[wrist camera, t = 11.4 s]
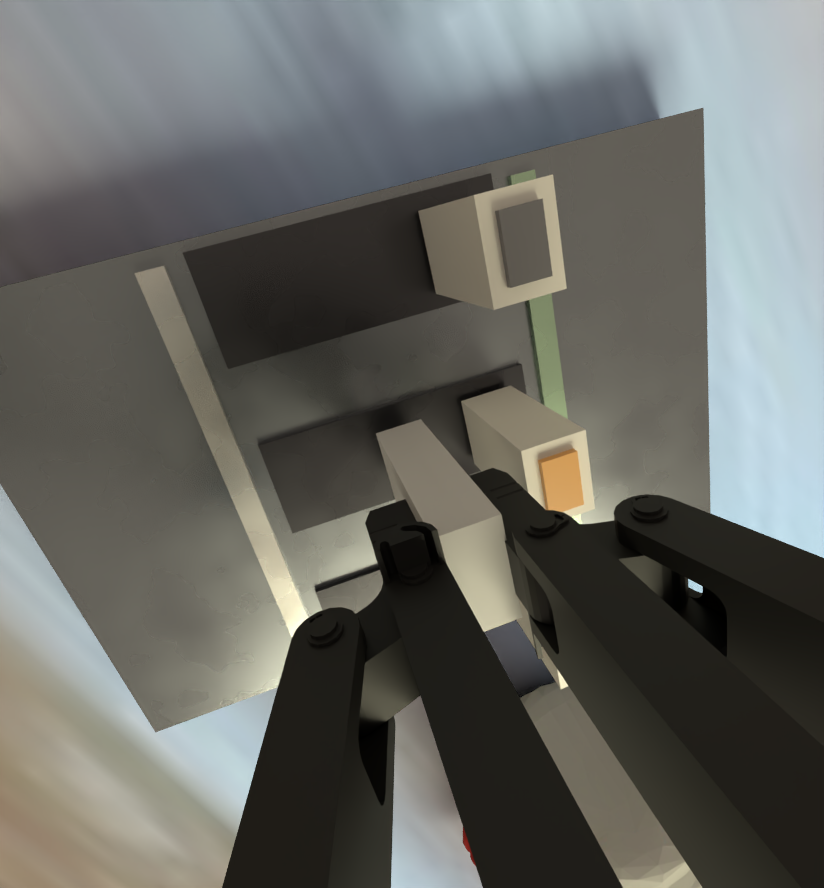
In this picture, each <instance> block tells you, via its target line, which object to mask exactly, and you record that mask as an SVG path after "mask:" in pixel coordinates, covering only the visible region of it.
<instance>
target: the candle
mask: <svg viewBox="0 0 824 888" xmlns="http://www.w3.org/2000/svg"><path fill="white" fill-rule="evenodd" d="M520 699H521V701H522V703H523V705H524V707H525V709H526V710H527V712H528V714H529V716H530V718H531V720H532V721H533V723H534V725H535V727H536V729H537V731H538V732H539V734H540V736H541V738H542V740H543V742H544V743H545V745H546V747H547V749H548V751H549V753H550V755H551V756H552V758H553V760H554V762H555V764H556V766H557V767H558V769H559V771H560V773H561V775H562V777H563V778H564V780H565V782H566V784H567V786H568V788H569V789H570V791H571V793H572V795H573V797H574V799H575V800H576V802H577V804H578V806H579V808H580V810H581V811H582V813H583V815H584V817H585V819H586V821H587V822H588V824H589V826H590V828H591V830H592V832H593V833H594V835H595V837H596V839H597V841H598V843H599V845H600V846H601V848H602V850H603V852H604V854H605V856H606V857H607V859H608V861H609V863H610V865H611V867H612V868H613V870H614V872H615V874H616V876H617V878H618V879H619V881H620V883H621V885H622V887H623V888H702V886H701V885H700V883H699V882H698V880H697V879H696V877H695V876H694V874H693V873H692V871H691V870H690V868H689V867H688V865H687V864H686V862H685V861H684V859H683V857H682V856H681V854H680V853H679V851H678V850H677V848H676V847H675V845H674V844H673V842H672V841H671V839H670V838H669V836H668V835H667V833H666V832H665V830H664V829H663V827H662V826H661V824H660V823H659V821H658V820H657V818H656V817H655V815H654V814H653V812H652V811H651V809H650V808H649V806H648V805H647V803H646V802H645V800H644V799H643V797H642V796H641V794H640V793H639V791H638V790H637V788H636V787H635V785H634V784H633V782H632V781H631V779H630V778H629V776H628V775H627V773H626V772H625V770H624V769H623V767H622V766H621V764H620V763H619V761H618V760H617V758H616V757H615V755H614V754H613V752H612V751H611V749H610V748H609V746H608V745H607V743H606V742H605V740H604V739H603V737H602V736H601V734H600V733H599V731H598V730H597V728H596V727H595V725H594V724H593V722H592V721H591V719H590V718H589V716H588V715H587V713H586V712H585V710H584V709H583V707H582V706H581V704H580V703H579V701H578V700H577V698H576V697H575V695H574V694H573V692H572V691H571V689H570V688H569V686H568V687H565V688H563V689H560V687H559V686H558V684H557V683H556V681H555V682H553V683H551V684H548V685H544V686H540V687H539V688H537V689H536V690H534V691H533V692H531V693H528V694H526V695H524V696H522V697H521V698H520ZM463 844H464V846H465V847H466V849H467V850H468V851H469V852H470V857H471V860H472V862H473V863H474V864H475V861H474V858H473V855H472V852H471V849H470V846H469V843H468V840H467V837H466V833H465V830H464V827H463ZM475 866H476V864H475Z"/></svg>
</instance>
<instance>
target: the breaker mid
mask: <svg viewBox="0 0 824 888" xmlns="http://www.w3.org/2000/svg"><path fill="white" fill-rule="evenodd" d="M461 403H462V408H463V413H464V417H465V422H466V427H467V431H468V436H469V441H470V445H471V450H472V454H473V459H474V464H475V465H476V466H477V467H478V468H479V469H480V470H481V472H482V471H485V470H488V469H491V468H495V469H498V470H501V471H504V472H507V473H508V474H509V475H510V476H511V477H512V478H513V479H514V480H515V481H516V482H517V483H519V484H520V485H521V486H522V487H523V489H524V490H526V491H527V492H528V493H529V494H530V495H531V496H532V497H533V498H534V499H535V500H536V501H537V502H538V503H539V504H540V505H541V506H542V507H543V508H544V509H545V510H555V511H559V512H564V513H566V514H567V515H569V516H571V517H573V516H576V515H579V514H582V513H585V512H588V511H590V510H593V509H595V504H594V496H593V487H592V479H591V470H590V462H589V454H588V445H587V437H586V430H585V429H584V428H582V427H580V426H579V425H577V424H575V423H573V422H572V421H570V420H568V419H567V418H565V417H563V416H562V415H560V414H558V413H556V412H555V411H553V410H551V409H550V408H548V407H546V406H544V405H543V404H541V403H539V402H538V401H536V400H534V399H533V398H531V397H529V396H527V395H526V394H524V393H522V392H521V391H519V390H517V389H516V388H514V387H512V386H508V387H504V388H501V389H498V390H495V391H492V392H488V393H485V394H482V395H479V396H476V397H472V398H469V399H466V400H463V401H461Z"/></svg>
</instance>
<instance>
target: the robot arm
mask: <svg viewBox="0 0 824 888" xmlns="http://www.w3.org/2000/svg"><path fill="white" fill-rule="evenodd" d="M376 436H377V439H378V442H379V446H380V449H381V453H382V456H383V459H384V463H385V466H386V470H387V473H388V476H389V480H390V483H391V487H392V490H393V493H394V497H395V500H396V502H395V503H392V504H389V505H386V506H383V507H380V508H377V509H374V510H371V511H369V514H368V517H367V519H366V522H365V524H366V527H367V531H368V534H369V537H370V540H371V543H372V546H373V549H374V554H375V557H376V560H377V563H378V566H379V569H380V572H381V575H382V578H383V585H382V589H381V591H380V592H379V594H378V596H377V597H376V598H375V599H374V600H373V601H372V602H371V603H370V604H369V605H368V606H366V607H365V608H364V609H362V610H360V611H359V612H357V613H356V614H355V613H354V612H353V611H352V610H350V609H347V608H344V607H335V608H328V609H325V610H322V611H319V612H317V613H315V614H313V615H312V616H310V617H309V618H307V619H306V620H305V621H304V622H303V623H302V624H301V625H300V626H299V627H298V628H297V629H296V631H295V633H294V635H293V637H292V639H291V642H290V646H289V649H288V653H287V657H286V660H285V664H284V667H283V671H282V675H281V678H280V682H279V685H278V689H277V693H276V696H275V700H274V703H273V707H272V710H271V714H270V718H269V721H268V725H267V728H266V732H265V736H264V739H263V743H262V746H261V750H260V754H259V757H258V761H257V764H256V768H255V772H254V775H253V779H252V782H251V786H250V790H249V793H248V797H247V800H246V804H245V807H244V811H243V815H242V818H241V822H240V825H239V829H238V833H237V836H236V840H235V843H234V847H233V851H232V854H231V858H230V861H229V865H228V869H227V872H226V876H225V879H224V883H223V887H222V888H391V860H392V824H393V787H394V751H395V719H394V715H395V714H396V713H398V712H399V711H400V710H402V709H403V708H404V707H405V706H407V705H408V704H409V703H411V702H412V701H413V700H415V699H416V698H417V697H419V696H420V695H421V698H422V701H423V704H424V707H425V710H426V713H427V716H428V719H429V723H430V726H431V729H432V732H433V735H434V738H435V741H436V744H437V747H438V750H439V753H440V756H441V760H442V763H443V766H444V769H445V772H446V775H447V778H448V781H449V784H450V787H451V790H452V793H453V796H454V800H455V803H456V806H457V809H458V812H459V815H460V818H461V821H462V824H463V827H464V830H465V833H466V837H467V840H468V843H469V846H470V849H471V852H472V855H473V858H474V861H475V864H476V867H477V870H478V873H479V877H480V880H481V883H482V886H483V888H623V887H622V885H621V883H620V881H619V879H618V878H617V876H616V874H615V872H614V870H613V868H612V867H611V865H610V863H609V861H608V859H607V857H606V856H605V854H604V852H603V850H602V848H601V846H600V845H599V843H598V841H597V839H596V837H595V835H594V833H593V832H592V830H591V828H590V826H589V824H588V822H587V821H586V819H585V817H584V815H583V813H582V811H581V810H580V808H579V806H578V804H577V802H576V800H575V799H574V797H573V795H572V793H571V791H570V789H569V788H568V786H567V784H566V782H565V780H564V778H563V777H562V775H561V773H560V771H559V769H558V767H557V766H556V764H555V762H554V760H553V758H552V756H551V755H550V753H549V751H548V749H547V747H546V745H545V743H544V742H543V740H542V738H541V736H540V734H539V732H538V731H537V729H536V727H535V725H534V723H533V721H532V720H531V718H530V716H529V714H528V712H527V710H526V709H525V707H524V705H523V703H522V701H521V699H520V698H519V696H518V694H517V692H516V690H515V688H514V687H513V685H512V683H511V681H510V679H509V677H508V676H507V674H506V672H505V670H504V668H503V666H502V665H501V663H500V661H499V659H498V657H497V655H496V653H495V652H494V650H493V648H492V646H491V644H490V642H489V641H488V639H487V637H486V635H485V633H484V632H485V631H488V630H490V629H493V628H496V627H498V626H501V625H503V624H506V623H509V622H511V621H514V620H517V619H519V618H522V613H521V608H520V603H519V600H520V601H521V602H522V604H523V605H524V607H525V608H526V610H527V611H528V615H529V620H530V625H531V631H532V636H533V641H534V646H535V651H536V654H537V657H538V659H541V658H543V654H542V649H541V647H543V648H544V650H545V651H546V653H547V654H548V656H549V657H550V659H551V660H552V662H553V663H554V665H555V666H556V668H557V669H558V671H559V672H560V674H561V675H562V677H563V678H564V680H565V682H566V683H567V685H568V686H569V688H570V689H571V691H572V692H573V694H574V695H575V697H576V698H577V700H578V701H579V703H580V704H581V706H582V707H583V709H584V710H585V712H586V713H587V715H588V716H589V718H590V719H591V721H592V722H593V724H594V725H595V727H596V728H597V730H598V731H599V733H600V734H601V736H602V737H603V739H604V740H605V742H606V743H607V745H608V746H609V748H610V749H611V751H612V752H613V754H614V755H615V757H616V758H617V760H618V761H619V763H620V764H621V766H622V767H623V769H624V770H625V772H626V773H627V775H628V776H629V778H630V779H631V781H632V782H633V784H634V785H635V787H636V788H637V790H638V791H639V793H640V794H641V796H642V797H643V799H644V800H645V802H646V803H647V805H648V806H649V808H650V809H651V811H652V812H653V814H654V815H655V817H656V818H657V820H658V821H659V823H660V824H661V826H662V827H663V829H664V830H665V832H666V833H667V835H668V836H669V838H670V839H671V841H672V842H673V844H674V845H675V847H676V848H677V850H678V851H679V853H680V854H681V856H682V857H683V859H684V861H685V862H686V864H687V865H688V867H689V868H690V870H691V871H692V873H693V874H694V876H695V877H696V879H697V880H698V882H699V883H700V885H701V886H702V888H824V558H822V557H820V556H817V555H814V554H812V553H809V552H807V551H804V550H802V549H799V548H797V547H794V546H792V545H789V544H786V543H784V542H781V541H779V540H776V539H774V538H771V537H769V536H766V535H764V534H761V533H758V532H756V531H753V530H751V529H748V528H746V527H743V526H741V525H738V524H736V523H733V522H730V521H728V520H725V519H723V518H720V517H718V516H715V515H713V514H710V513H708V512H705V511H702V510H700V509H697V508H695V507H692V506H690V505H687V504H685V503H682V502H680V501H677V500H674V499H672V498H668V497H665V496H661V495H648V494H645V495H638V496H633V497H630V498H628V499H625V500H623V501H621V502H620V503H619V504H618V505H617V506H616V507H615V510H614V521H607V522H600V523H592V524H579V523H578V522H577V521H576V520H574V519H573V518H572V517H571V516H569V515H567V514H566V513H564V512H559V511H555V510H545V509H544V508H543V507H542V506H541V505H540V504H539V503H538V502H537V501H536V500H535V499H534V498H533V497H532V496H531V495H530V494H529V493H528V492H527V491H526V490H524V489H523V487H522V486H521V485H520V484H519V483H517V482H516V481H515V480H514V479H513V478H512V477H511V476H510V475H509V474H508V473H507V472H504V471H501V470H498V469H495V468H491V469H488V470H485V471H482V472H479V473H476V474H473V475H470V476H468V474H467V473H466V472H465V471H464V470H463V468H462V467H461V466H460V465H459V464H458V463H457V461H456V460H455V459H454V458H453V457H452V456H451V454H450V453H449V452H448V451H447V450H446V448H445V447H444V446H443V445H442V444H441V443H440V441H439V440H438V439H437V438H436V437H435V435H434V434H433V433H432V432H431V431H430V430H429V428H428V427H427V426H426V425H425V424H424V423H423V421H422V420H421V419H419V420H416V421H413V422H410V423H407V424H404V425H401V426H398V427H394V428H391V429H388V430H385V431H382V432H379V433H376ZM688 579H690V580H692V581H694V582H696V583H698V584H700V585H701V586H703V593H699V592H697V591H694V590H692V589H691V588H689V587H688Z"/></svg>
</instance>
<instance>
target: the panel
mask: <svg viewBox="0 0 824 888" xmlns="http://www.w3.org/2000/svg"><path fill="white" fill-rule="evenodd" d="M552 174H553V178H554V187H555V195H556V204H557V212H558V220H559V229H560V237H561V245H562V254H563V262H564V270H565V279H566V287H567V289H564V290H560V291H557V292H554V293H550V294H547V295H543V296H540V297H536V298H533V299H530V300H526V301H523V302H519V303H516V304H513V305H509V306H506V307H502V308H499V309H496V310H492V309H489V308H485V307H482V306H478V305H474V304H471V303H467V302H464V301H460V300H456V299H453V298H449V297H446V296H442V295H439V294H436V291H435V286H434V282H433V277H432V273H431V268H430V263H429V259H428V254H427V249H426V245H425V240H424V236H423V231H422V226H421V222H420V217H419V213H418V211H420V210H423V209H427V208H430V207H434V206H437V205H441V204H444V203H448V202H451V201H455V200H458V199H462V198H465V197H469V196H472V195H476V194H480V193H484V192H488V191H491V190H495V189H499V188H503V187H507V186H510V185H514V184H518V183H522V182H526V181H530V180H533V179H537V178H541V177H545V176H549V175H552ZM508 386H512V387H514V388H516V389H517V390H519V391H521V392H522V393H524V394H526V395H527V396H529V397H531V398H533V399H534V400H536V401H538V402H539V403H541V404H543V405H544V406H546V407H548V408H550V409H551V410H553V411H555V412H556V413H558V414H560V415H562V416H563V417H565V418H567V419H568V420H570V421H572V422H573V423H575V424H577V425H579V426H580V427H582V428H584V429H585V430H586V437H587V445H588V454H589V462H590V470H591V479H592V487H593V496H594V504H595V509H593V510H590V511H588V512H585V513H582V514H579V515H576V516H573V517H572V518H573V519H574V520H576V521H577V522H578V523H579V524H592V523H600V522H607V521H614V510H615V507H616V506H617V505H618V504H619V503H620V502H621V501H623V500H625V499H628V498H630V497H633V496H638V495H645V494H648V495H661V496H665V497H668V498H672V499H674V500H677V501H680V502H682V503H685V504H687V505H690V506H692V507H695V508H697V509H700V510H702V511H705V512H708V513H710V466H709V408H708V351H707V293H706V235H705V178H704V120H703V108H701V109H697V110H693V111H689V112H685V113H681V114H677V115H673V116H669V117H665V118H661V119H658V120H654V121H650V122H646V123H642V124H638V125H634V126H630V127H626V128H622V129H618V130H614V131H610V132H607V133H603V134H599V135H595V136H591V137H587V138H583V139H579V140H575V141H571V142H567V143H563V144H559V145H556V146H552V147H548V148H544V149H540V150H536V151H532V152H528V153H524V154H520V155H516V156H512V157H508V158H505V159H501V160H497V161H493V162H489V163H485V164H481V165H477V166H473V167H469V168H465V169H461V170H457V171H454V172H450V173H446V174H442V175H438V176H434V177H430V178H426V179H422V180H418V181H414V182H410V183H406V184H403V185H399V186H395V187H391V188H387V189H383V190H379V191H375V192H371V193H367V194H363V195H359V196H356V197H352V198H348V199H344V200H340V201H336V202H332V203H328V204H324V205H320V206H316V207H312V208H308V209H305V210H301V211H297V212H293V213H289V214H285V215H281V216H277V217H273V218H269V219H265V220H261V221H257V222H254V223H250V224H246V225H242V226H238V227H234V228H230V229H226V230H222V231H218V232H214V233H210V234H206V235H203V236H199V237H195V238H191V239H187V240H183V241H179V242H175V243H171V244H167V245H163V246H159V247H155V248H152V249H148V250H144V251H140V252H136V253H132V254H128V255H124V256H120V257H116V258H112V259H108V260H104V261H101V262H97V263H93V264H89V265H85V266H81V267H77V268H73V269H69V270H65V271H61V272H57V273H53V274H50V275H46V276H42V277H38V278H34V279H30V280H26V281H22V282H18V283H14V284H10V285H6V286H3V287H0V484H1V486H2V487H3V489H4V490H5V492H6V494H7V495H8V497H9V498H10V500H11V502H12V503H13V505H14V506H15V508H16V510H17V511H18V513H19V514H20V516H21V518H22V519H23V521H24V522H25V524H26V526H27V527H28V529H29V530H30V532H31V534H32V535H33V537H34V538H35V540H36V542H37V543H38V545H39V546H40V548H41V550H42V551H43V553H44V554H45V556H46V558H47V559H48V561H49V562H50V564H51V566H52V567H53V569H54V570H55V572H56V574H57V575H58V577H59V578H60V580H61V582H62V583H63V585H64V586H65V588H66V590H67V591H68V593H69V594H70V596H71V598H72V599H73V601H74V602H75V604H76V606H77V607H78V609H79V610H80V612H81V614H82V615H83V617H84V618H85V620H86V622H87V623H88V625H89V626H90V628H91V630H92V631H93V633H94V634H95V636H96V638H97V639H98V641H99V642H100V644H101V646H102V647H103V649H104V650H105V652H106V654H107V655H108V657H109V658H110V660H111V662H112V663H113V665H114V666H115V668H116V670H117V671H118V673H119V674H120V676H121V678H122V679H123V681H124V682H125V684H126V686H127V687H128V689H129V690H130V692H131V694H132V695H133V697H134V698H135V700H136V702H137V703H138V705H139V706H140V708H141V710H142V711H143V713H144V714H145V716H146V718H147V719H148V721H149V722H150V724H151V726H152V727H153V729H154V730H155V732H158V731H160V730H163V729H166V728H168V727H171V726H174V725H176V724H179V723H182V722H185V721H187V720H190V719H193V718H195V717H198V716H201V715H204V714H206V713H209V712H212V711H214V710H217V709H220V708H222V707H225V706H228V705H231V704H233V703H236V702H239V701H241V700H244V699H247V698H249V697H252V696H255V695H258V694H260V693H263V692H266V691H268V690H271V689H274V688H277V687H278V685H279V682H280V678H281V675H282V671H283V667H284V664H285V660H286V657H287V653H288V649H289V646H290V642H291V639H292V637H293V635H294V633H295V631H296V629H297V628H298V627H299V626H300V625H301V624H302V623H303V622H304V621H305V620H306V619H307V618H309V617H310V616H312V615H313V614H315V613H317V612H319V611H322V610H325V609H328V608H335V607H344V608H347V609H350V610H352V611H353V612H354V613H355V614H356V613H357V612H359V611H360V610H362V609H364V608H365V607H366V606H368V605H369V604H370V603H371V602H372V601H373V600H374V599H375V598H376V597H377V596H378V594H379V592H380V591H381V589H382V585H383V578H382V575H381V572H380V569H379V566H378V563H377V560H376V557H375V554H374V549H373V546H372V543H371V540H370V537H369V534H368V531H367V527H366V524H365V522H366V519H367V517H368V514H369V511H371V510H374V509H377V508H380V507H383V506H386V505H389V504H392V503H395V502H396V500H395V497H394V493H393V490H392V487H391V483H390V480H389V476H388V473H387V470H386V466H385V463H384V459H383V456H382V453H381V449H380V446H379V442H378V439H377V436H376V433H379V432H382V431H385V430H388V429H391V428H394V427H398V426H401V425H404V424H407V423H410V422H413V421H416V420H419V419H421V420H422V421H423V423H424V424H425V425H426V426H427V427H428V428H429V430H430V431H431V432H432V433H433V434H434V435H435V437H436V438H437V439H438V440H439V441H440V443H441V444H442V445H443V446H444V447H445V448H446V450H447V451H448V452H449V453H450V454H451V456H452V457H453V458H454V459H455V460H456V461H457V463H458V464H459V465H460V466H461V467H462V468H463V470H464V471H465V472H466V473H467V474H468V476H470V475H473V474H476V473H479V472H481V470H480V469H479V468H478V467H477V466H476V465H475V464H474V459H473V454H472V450H471V445H470V441H469V436H468V431H467V427H466V422H465V417H464V413H463V408H462V403H461V401H463V400H466V399H469V398H472V397H476V396H479V395H482V394H485V393H488V392H492V391H495V390H498V389H501V388H504V387H508Z"/></svg>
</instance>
